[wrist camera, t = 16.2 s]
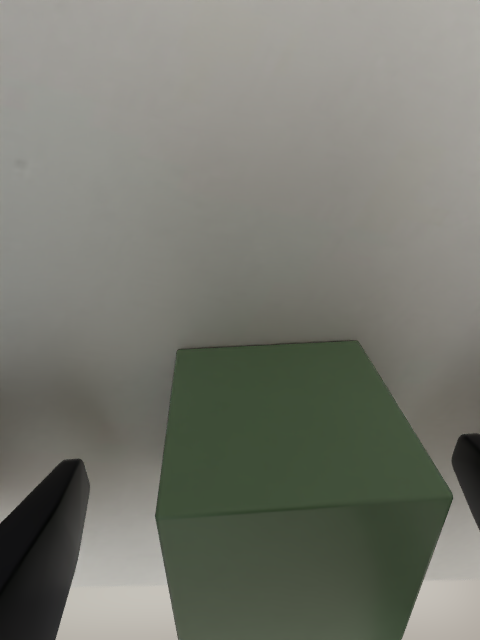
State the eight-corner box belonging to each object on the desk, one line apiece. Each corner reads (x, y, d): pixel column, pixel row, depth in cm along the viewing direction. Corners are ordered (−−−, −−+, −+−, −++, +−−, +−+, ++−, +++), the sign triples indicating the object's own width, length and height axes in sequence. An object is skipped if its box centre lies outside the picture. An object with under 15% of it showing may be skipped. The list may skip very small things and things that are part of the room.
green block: (339, 466, 12) (402, 642, 8) (190, 475, 12) (181, 662, 8) (358, 339, 10) (456, 496, 6) (176, 348, 10) (154, 518, 6)
